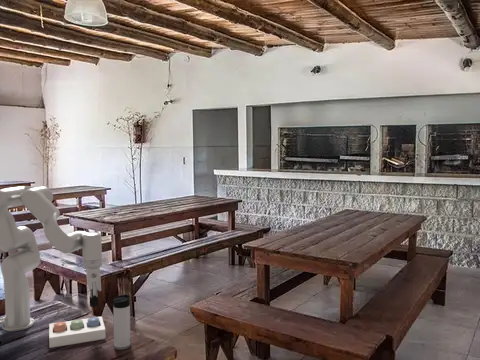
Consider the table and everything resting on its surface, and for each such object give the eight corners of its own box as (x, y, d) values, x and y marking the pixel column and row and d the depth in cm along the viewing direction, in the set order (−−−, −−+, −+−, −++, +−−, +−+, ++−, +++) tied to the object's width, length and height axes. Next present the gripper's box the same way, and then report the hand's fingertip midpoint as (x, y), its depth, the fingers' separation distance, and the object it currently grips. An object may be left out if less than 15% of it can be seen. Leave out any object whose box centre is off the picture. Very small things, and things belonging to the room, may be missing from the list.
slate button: (88, 331, 181) (88, 322, 180) (87, 327, 185) (87, 318, 184) (99, 330, 182) (99, 320, 182) (98, 325, 187) (98, 316, 186)
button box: (49, 347, 171) (49, 337, 170) (49, 333, 184) (49, 323, 183) (105, 338, 179) (105, 329, 179) (101, 325, 192) (101, 316, 191)
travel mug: (134, 345, 174) (133, 296, 172) (121, 351, 168) (120, 301, 166) (123, 340, 177) (123, 292, 175) (110, 347, 172) (109, 297, 170)
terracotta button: (54, 337, 175) (53, 327, 175) (53, 332, 180) (53, 322, 179) (66, 335, 177) (66, 325, 177) (66, 330, 181) (65, 321, 181)
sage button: (71, 334, 178) (71, 324, 178) (70, 329, 182) (70, 320, 182) (83, 332, 180) (83, 323, 179) (82, 328, 184) (82, 318, 184)
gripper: (104, 266, 176) (105, 310, 177) (100, 257, 189) (101, 298, 191) (84, 268, 173) (85, 313, 174) (81, 259, 186) (83, 301, 188)
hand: (94, 305), depth 183 cm, fingers closed
